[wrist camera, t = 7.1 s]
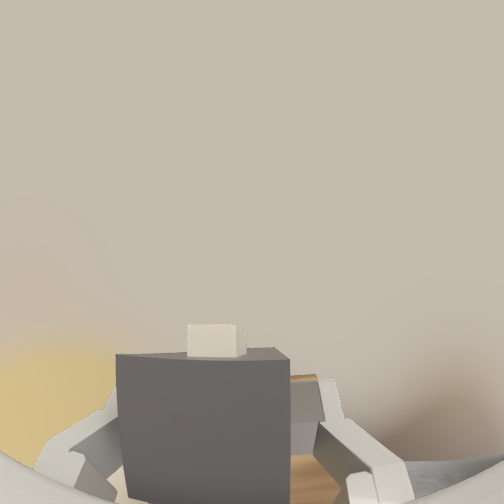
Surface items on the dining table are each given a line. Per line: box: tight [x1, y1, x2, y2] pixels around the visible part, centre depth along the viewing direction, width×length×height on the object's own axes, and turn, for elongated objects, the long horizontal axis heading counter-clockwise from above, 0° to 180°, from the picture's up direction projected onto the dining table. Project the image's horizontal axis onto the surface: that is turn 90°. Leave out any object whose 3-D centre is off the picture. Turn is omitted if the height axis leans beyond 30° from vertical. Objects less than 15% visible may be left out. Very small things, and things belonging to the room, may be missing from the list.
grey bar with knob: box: [116, 324, 291, 504], centre depth 15 cm, size 22×4×4 cm, turn 177°
